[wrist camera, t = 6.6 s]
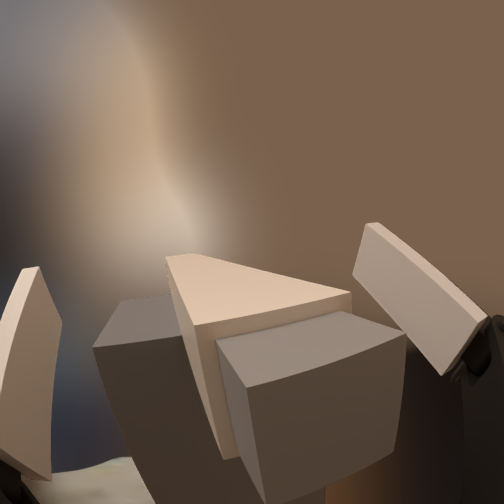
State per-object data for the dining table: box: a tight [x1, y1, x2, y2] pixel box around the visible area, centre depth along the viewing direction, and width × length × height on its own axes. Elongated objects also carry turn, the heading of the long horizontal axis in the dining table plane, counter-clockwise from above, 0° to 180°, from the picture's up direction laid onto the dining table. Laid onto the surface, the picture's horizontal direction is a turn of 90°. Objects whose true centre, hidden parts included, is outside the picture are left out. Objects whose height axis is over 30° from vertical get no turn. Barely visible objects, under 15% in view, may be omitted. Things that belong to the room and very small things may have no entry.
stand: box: [92, 294, 325, 504], centre depth 21 cm, size 14×14×32 cm
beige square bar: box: [165, 253, 407, 504], centre depth 17 cm, size 3×28×3 cm, turn 18°
